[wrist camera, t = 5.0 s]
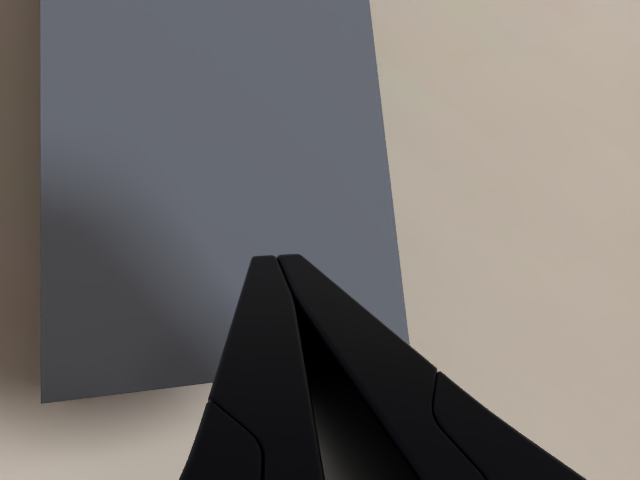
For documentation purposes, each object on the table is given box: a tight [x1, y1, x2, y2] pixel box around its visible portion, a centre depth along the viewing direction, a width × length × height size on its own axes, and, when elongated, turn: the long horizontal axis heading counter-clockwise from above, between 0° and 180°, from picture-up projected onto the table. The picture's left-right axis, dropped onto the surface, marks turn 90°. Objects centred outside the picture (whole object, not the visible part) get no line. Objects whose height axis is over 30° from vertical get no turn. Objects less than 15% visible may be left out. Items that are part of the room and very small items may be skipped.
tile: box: [40, 0, 409, 403], centre depth 16 cm, size 2×10×14 cm
